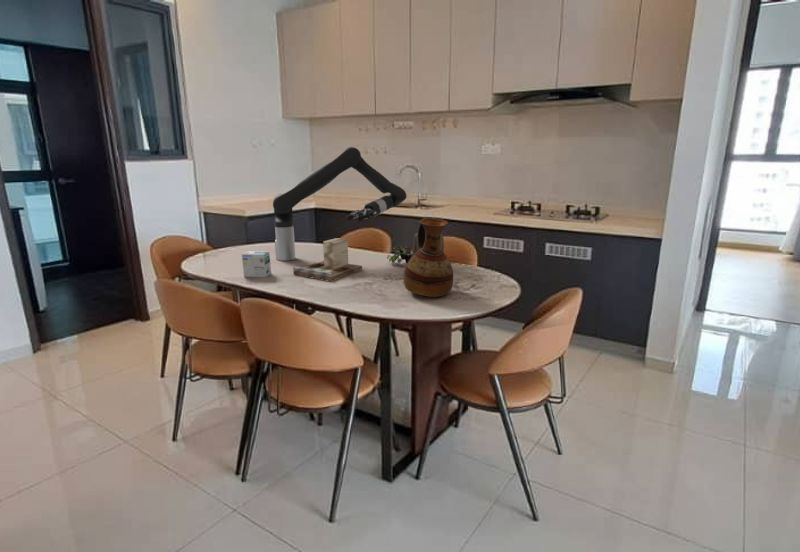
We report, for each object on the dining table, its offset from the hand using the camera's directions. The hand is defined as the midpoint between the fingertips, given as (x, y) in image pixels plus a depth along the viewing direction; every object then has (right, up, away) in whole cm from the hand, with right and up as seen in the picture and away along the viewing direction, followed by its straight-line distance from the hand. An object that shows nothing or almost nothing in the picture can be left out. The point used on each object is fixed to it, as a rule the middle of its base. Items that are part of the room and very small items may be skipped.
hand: (352, 219), depth 225 cm
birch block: (-7, -22, -4) cm, 24 cm away
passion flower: (+24, -22, +5) cm, 33 cm away
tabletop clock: (+36, -25, -5) cm, 44 cm away
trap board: (-10, -25, -8) cm, 29 cm away
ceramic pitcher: (+34, -34, -39) cm, 62 cm away
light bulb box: (-42, -27, -13) cm, 52 cm away
